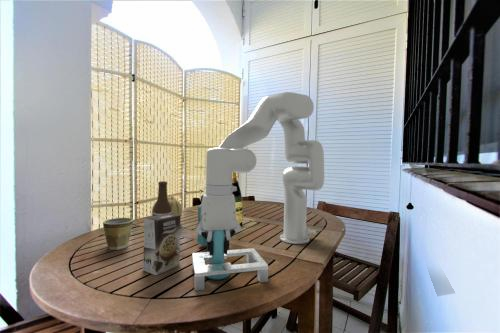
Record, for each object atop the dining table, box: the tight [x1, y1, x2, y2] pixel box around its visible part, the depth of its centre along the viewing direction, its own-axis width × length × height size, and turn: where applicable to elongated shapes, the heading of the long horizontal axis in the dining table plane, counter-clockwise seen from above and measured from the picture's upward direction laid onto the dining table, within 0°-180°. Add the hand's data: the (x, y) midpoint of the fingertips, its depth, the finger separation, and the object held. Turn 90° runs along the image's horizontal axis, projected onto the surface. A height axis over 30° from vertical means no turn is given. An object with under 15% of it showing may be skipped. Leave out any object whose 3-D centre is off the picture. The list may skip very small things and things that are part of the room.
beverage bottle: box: [197, 194, 207, 246], centre depth 95 cm, size 6×7×20 cm
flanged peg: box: [206, 230, 230, 281], centre depth 72 cm, size 7×7×16 cm
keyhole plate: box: [191, 247, 269, 291], centre depth 73 cm, size 20×14×4 cm
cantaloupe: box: [150, 195, 183, 218], centre depth 124 cm, size 15×15×15 cm
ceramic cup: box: [102, 217, 134, 251], centre depth 94 cm, size 13×10×10 cm
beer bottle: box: [152, 180, 172, 216], centre depth 105 cm, size 8×8×24 cm
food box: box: [142, 213, 182, 276], centre depth 76 cm, size 9×6×16 cm
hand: (217, 252), depth 72 cm, fingers closed on flanged peg, 3 cm apart
